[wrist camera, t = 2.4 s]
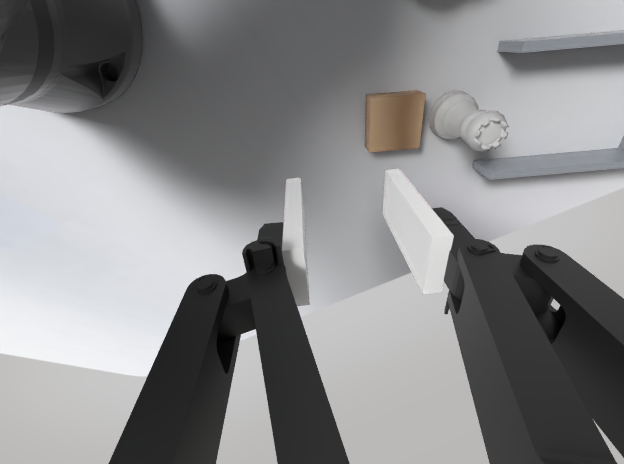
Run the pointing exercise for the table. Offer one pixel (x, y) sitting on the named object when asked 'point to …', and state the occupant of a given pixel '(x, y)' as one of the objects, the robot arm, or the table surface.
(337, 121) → the table surface
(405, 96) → the walnut tile
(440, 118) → the rook chess piece
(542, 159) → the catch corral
